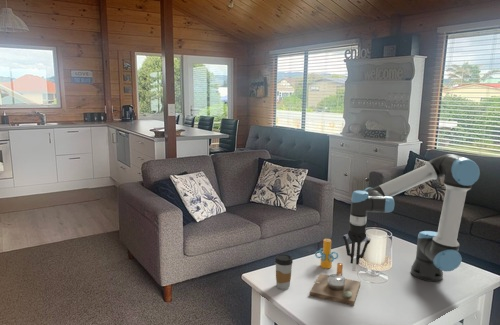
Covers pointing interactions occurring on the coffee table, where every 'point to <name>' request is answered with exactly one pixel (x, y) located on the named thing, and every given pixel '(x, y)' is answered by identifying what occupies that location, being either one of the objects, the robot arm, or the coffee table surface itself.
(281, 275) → the coffee cup
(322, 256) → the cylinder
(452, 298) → the coffee table surface
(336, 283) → the knob
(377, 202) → the robot arm
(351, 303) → the base
